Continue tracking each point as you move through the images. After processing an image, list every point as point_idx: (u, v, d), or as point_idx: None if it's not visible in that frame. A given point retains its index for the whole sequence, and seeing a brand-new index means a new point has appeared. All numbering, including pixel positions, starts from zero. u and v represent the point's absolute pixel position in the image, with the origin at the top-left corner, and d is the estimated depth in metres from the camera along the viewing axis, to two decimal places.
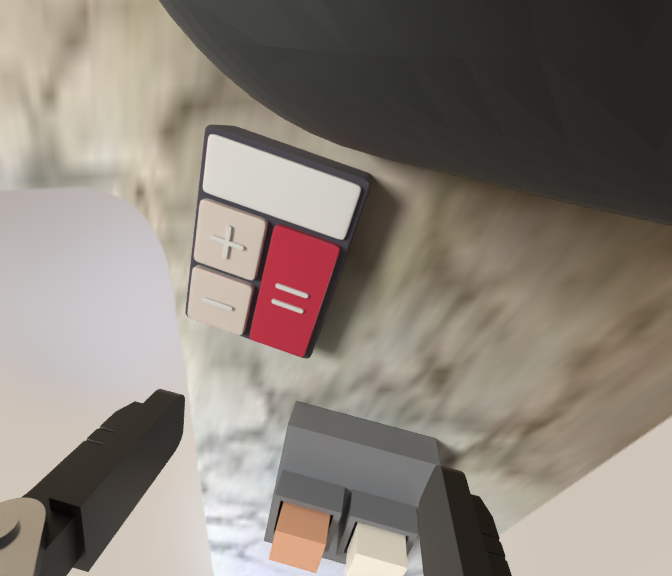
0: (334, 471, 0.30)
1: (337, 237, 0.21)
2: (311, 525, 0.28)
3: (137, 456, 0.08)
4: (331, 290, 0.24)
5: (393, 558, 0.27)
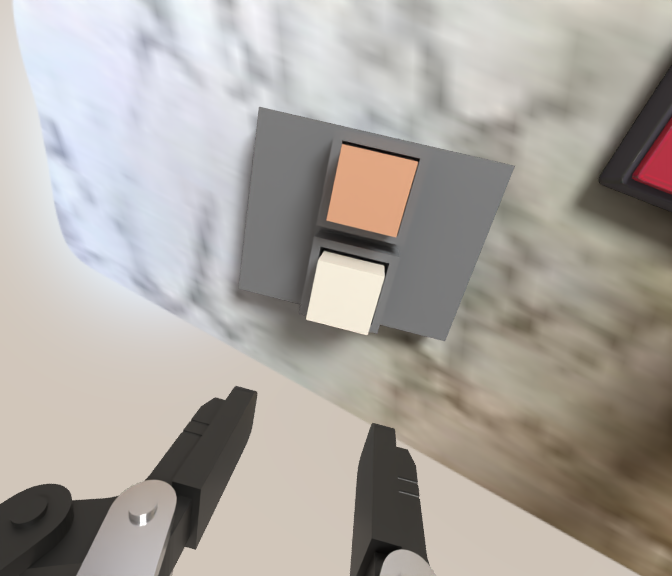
0: (428, 226, 0.24)
1: None
2: None
3: (230, 447, 0.09)
4: None
5: None
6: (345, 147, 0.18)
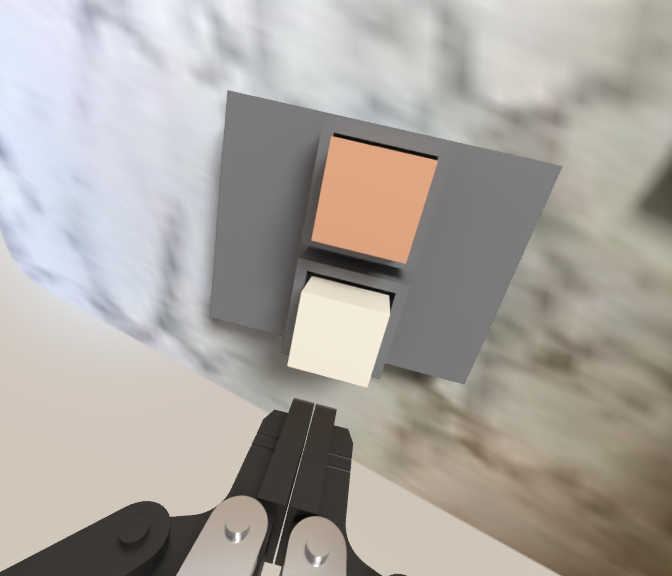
0: (446, 243, 0.19)
1: None
2: None
3: (298, 460, 0.09)
4: None
5: None
6: (336, 140, 0.13)
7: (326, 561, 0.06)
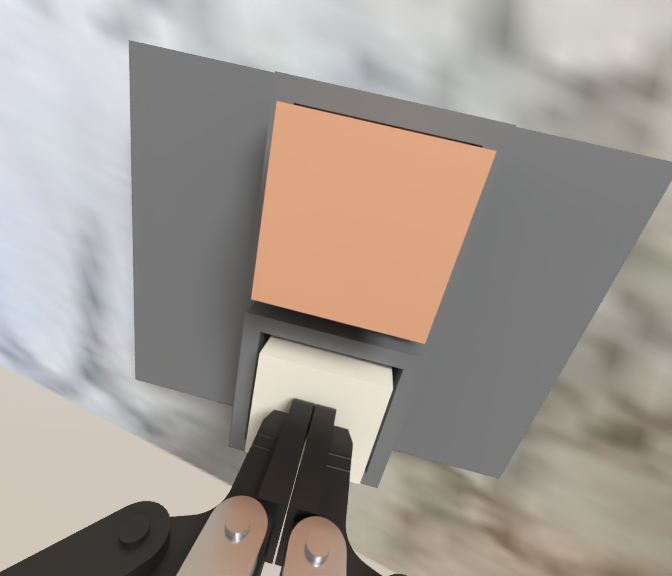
0: (480, 284, 0.12)
1: None
2: None
3: (298, 460, 0.09)
4: None
5: None
6: (286, 111, 0.06)
7: (326, 561, 0.06)
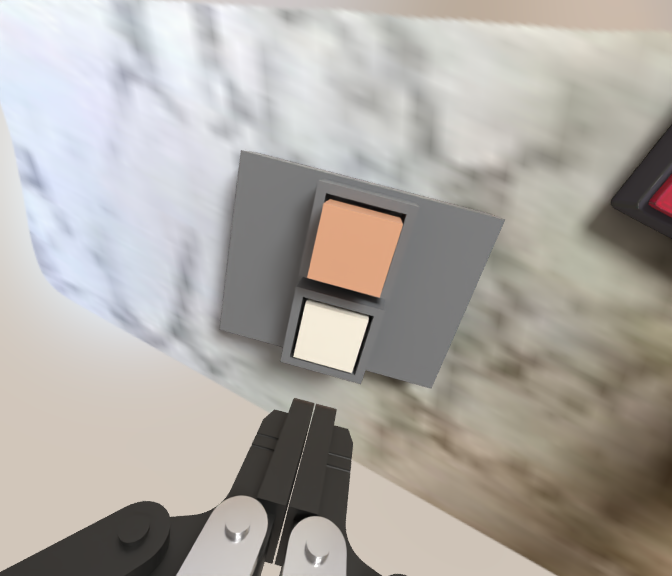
0: (416, 275, 0.23)
1: None
2: None
3: (298, 460, 0.09)
4: None
5: None
6: (327, 206, 0.17)
7: (326, 561, 0.06)
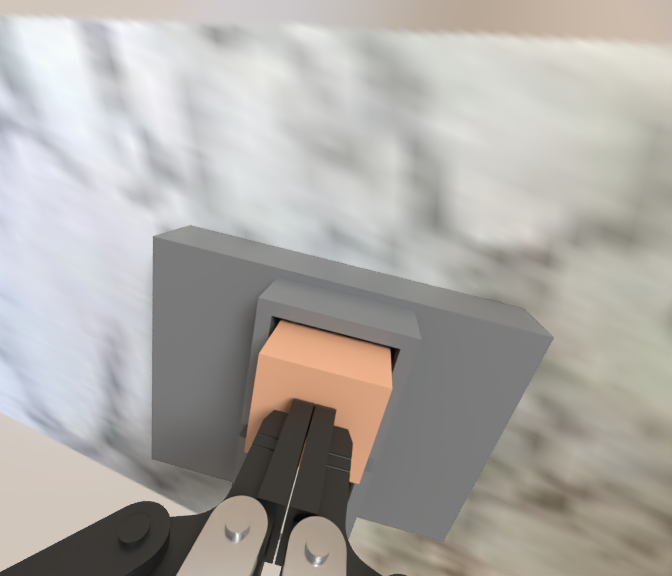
0: (418, 406, 0.16)
1: None
2: None
3: (298, 460, 0.09)
4: None
5: None
6: (265, 358, 0.10)
7: (326, 561, 0.06)
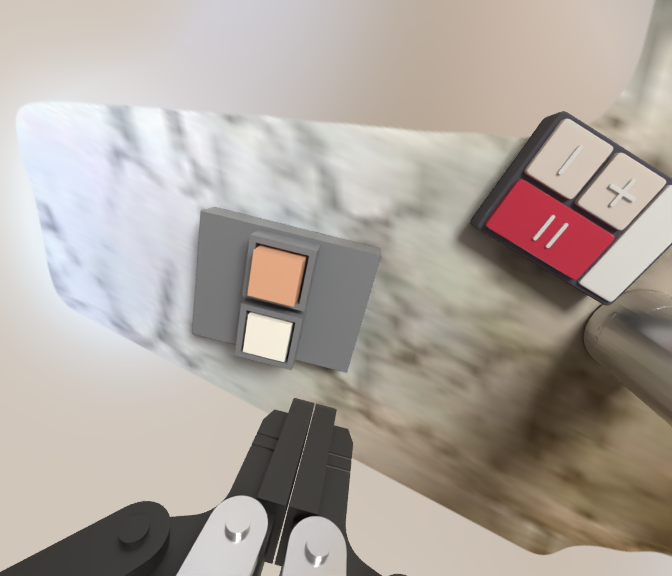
0: (327, 293, 0.33)
1: (583, 279, 0.30)
2: (299, 287, 0.30)
3: (298, 460, 0.09)
4: (538, 263, 0.30)
5: (287, 350, 0.33)
6: (255, 252, 0.28)
7: (326, 561, 0.06)
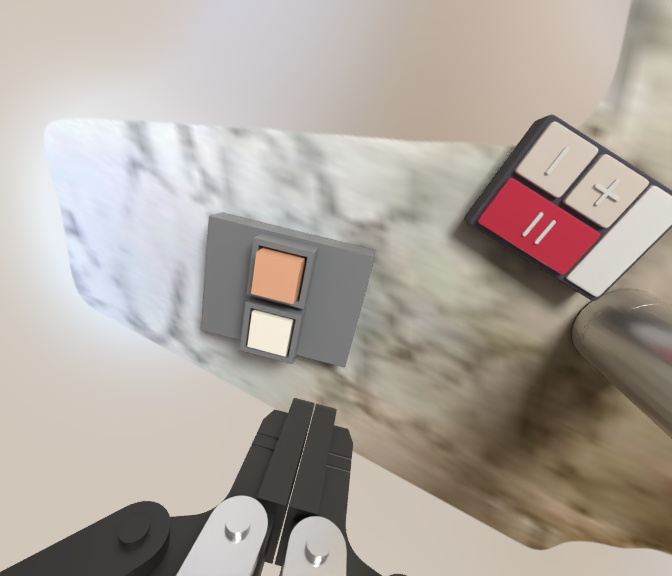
0: (325, 292, 0.35)
1: (570, 274, 0.31)
2: (298, 286, 0.33)
3: (298, 460, 0.09)
4: (528, 258, 0.32)
5: (288, 345, 0.36)
6: (258, 253, 0.31)
7: (326, 561, 0.06)
